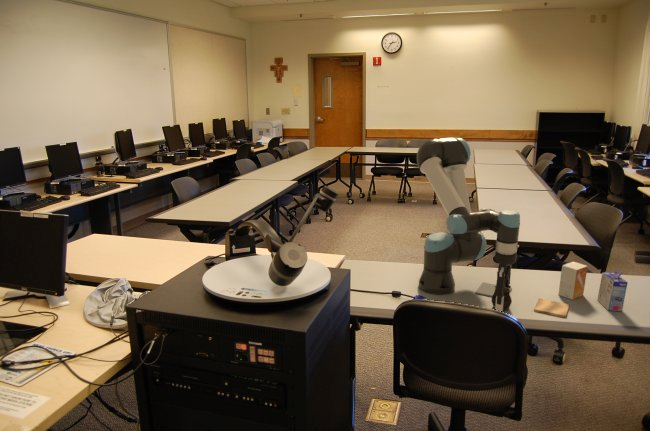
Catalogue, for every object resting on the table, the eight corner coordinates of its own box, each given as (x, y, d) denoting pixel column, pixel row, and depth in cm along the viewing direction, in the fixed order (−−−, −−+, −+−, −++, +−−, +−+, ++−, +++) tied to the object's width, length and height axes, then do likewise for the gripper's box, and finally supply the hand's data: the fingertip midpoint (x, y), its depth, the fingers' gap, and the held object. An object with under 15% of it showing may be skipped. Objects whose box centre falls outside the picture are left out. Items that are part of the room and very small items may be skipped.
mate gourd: (515, 308, 186) (517, 284, 183) (502, 314, 182) (504, 289, 179) (499, 301, 192) (501, 278, 189) (486, 306, 188) (488, 283, 185)
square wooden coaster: (534, 310, 184) (534, 309, 184) (538, 300, 193) (538, 298, 193) (565, 317, 178) (565, 315, 178) (569, 306, 187) (569, 304, 187)
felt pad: (475, 293, 200) (475, 292, 200) (482, 283, 210) (482, 282, 209) (505, 299, 194) (505, 298, 193) (511, 289, 203) (511, 287, 203)
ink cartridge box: (623, 311, 182) (629, 276, 178) (608, 311, 183) (613, 276, 179) (611, 300, 192) (616, 266, 188) (596, 299, 192) (601, 266, 189)
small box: (572, 300, 192) (576, 270, 189) (557, 294, 197) (561, 265, 194) (583, 295, 197) (588, 265, 193) (569, 290, 202) (572, 261, 198)
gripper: (510, 261, 171) (505, 320, 177) (521, 245, 187) (516, 299, 193) (489, 258, 175) (484, 315, 181) (501, 242, 191) (497, 295, 197)
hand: (501, 307), depth 187 cm, fingers closed on mate gourd, 7 cm apart
